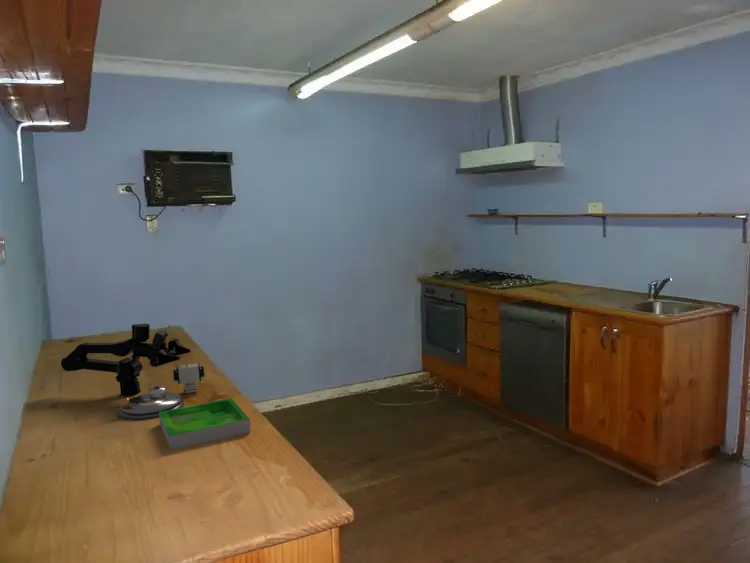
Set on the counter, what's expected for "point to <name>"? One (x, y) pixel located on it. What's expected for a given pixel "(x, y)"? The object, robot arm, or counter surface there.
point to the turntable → (149, 404)
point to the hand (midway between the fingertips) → (185, 354)
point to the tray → (203, 423)
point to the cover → (157, 392)
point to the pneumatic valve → (189, 376)
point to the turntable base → (148, 416)
